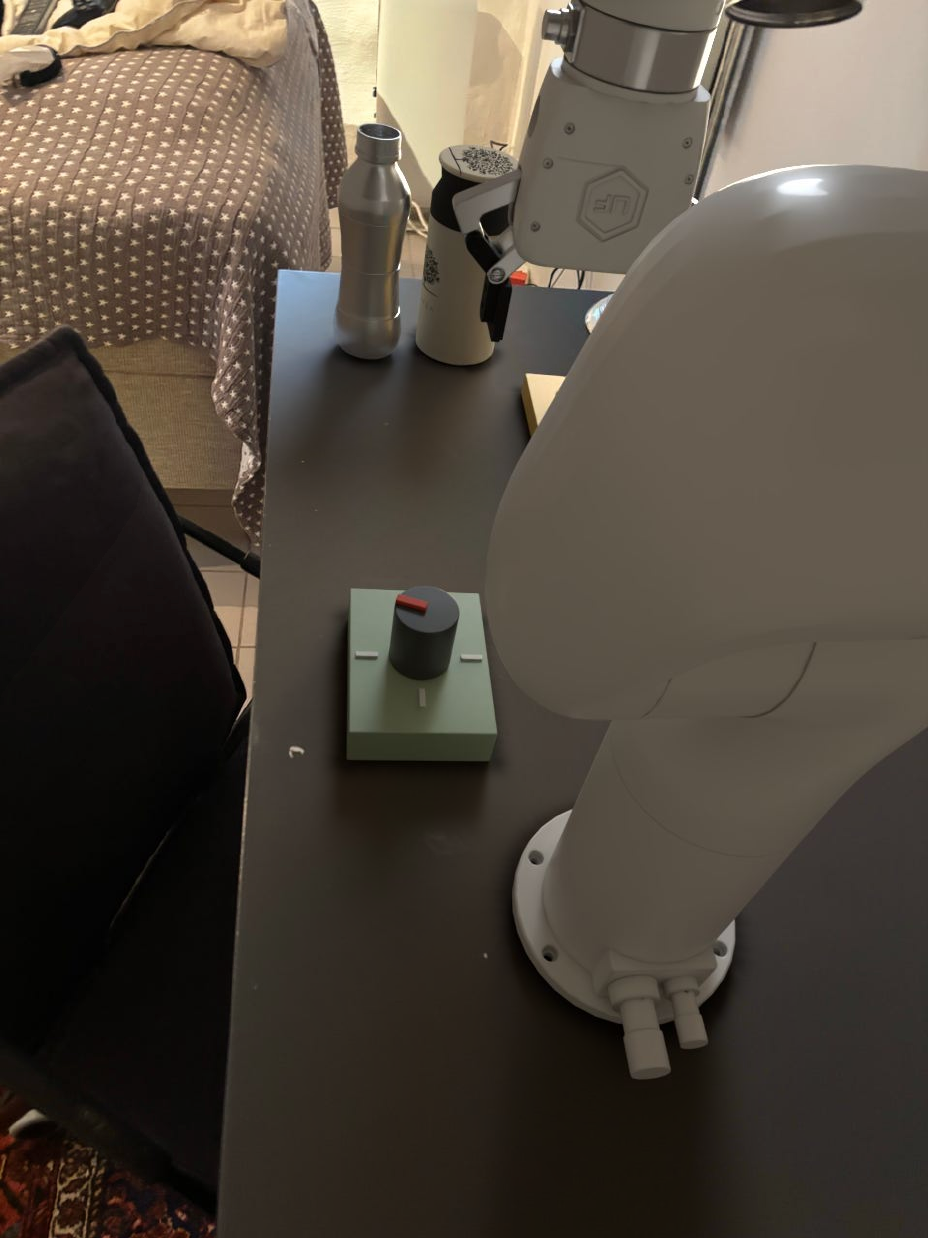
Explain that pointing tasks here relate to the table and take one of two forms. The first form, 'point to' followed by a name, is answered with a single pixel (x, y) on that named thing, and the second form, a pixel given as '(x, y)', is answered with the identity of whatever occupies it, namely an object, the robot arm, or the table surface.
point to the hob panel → (416, 690)
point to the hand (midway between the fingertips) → (563, 336)
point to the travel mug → (458, 260)
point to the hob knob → (423, 632)
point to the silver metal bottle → (371, 244)
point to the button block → (538, 396)
